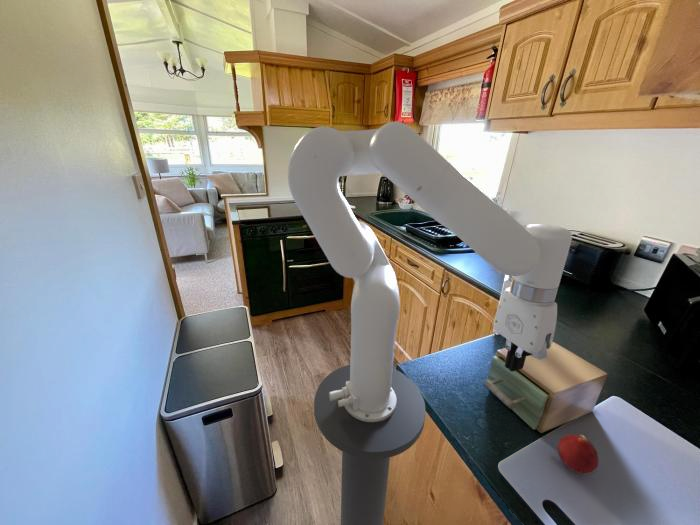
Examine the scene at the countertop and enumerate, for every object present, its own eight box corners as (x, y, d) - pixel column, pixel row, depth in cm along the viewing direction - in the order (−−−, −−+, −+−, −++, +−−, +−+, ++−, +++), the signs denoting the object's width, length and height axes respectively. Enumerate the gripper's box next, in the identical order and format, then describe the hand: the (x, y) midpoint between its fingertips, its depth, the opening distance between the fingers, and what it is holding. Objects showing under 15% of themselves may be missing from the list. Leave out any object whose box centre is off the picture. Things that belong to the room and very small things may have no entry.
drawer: (516, 437, 59) (527, 403, 56) (470, 390, 70) (476, 360, 67) (582, 409, 66) (595, 378, 63) (530, 371, 77) (539, 343, 74)
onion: (581, 457, 56) (594, 426, 53) (598, 487, 51) (613, 455, 48) (548, 450, 57) (559, 419, 54) (561, 479, 52) (574, 447, 49)
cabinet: (541, 433, 61) (554, 393, 57) (488, 385, 73) (496, 350, 69) (592, 411, 66) (608, 373, 63) (535, 370, 79) (545, 337, 75)
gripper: (487, 278, 60) (473, 351, 67) (557, 311, 47) (532, 398, 53) (513, 273, 63) (498, 344, 69) (587, 304, 50) (560, 388, 56)
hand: (513, 367), depth 61 cm, fingers closed
